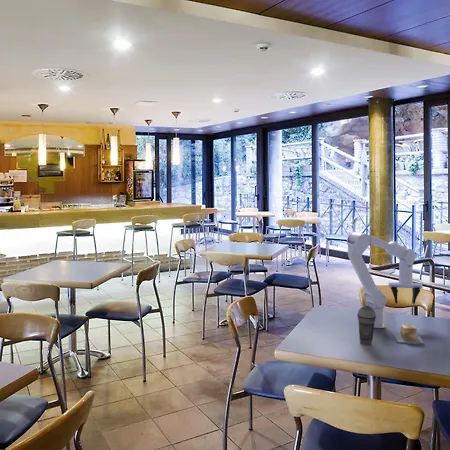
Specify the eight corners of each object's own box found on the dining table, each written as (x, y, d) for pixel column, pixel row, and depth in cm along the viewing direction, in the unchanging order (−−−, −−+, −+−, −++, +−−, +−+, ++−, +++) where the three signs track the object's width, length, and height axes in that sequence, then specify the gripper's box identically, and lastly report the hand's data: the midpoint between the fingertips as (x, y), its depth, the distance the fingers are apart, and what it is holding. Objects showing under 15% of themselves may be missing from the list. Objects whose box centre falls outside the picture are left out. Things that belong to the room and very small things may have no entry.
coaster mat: (398, 343, 190) (398, 341, 190) (393, 335, 199) (393, 333, 199) (424, 344, 188) (424, 343, 188) (418, 336, 198) (418, 335, 198)
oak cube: (403, 339, 192) (403, 328, 191) (400, 336, 197) (401, 324, 196) (416, 340, 191) (416, 328, 191) (413, 336, 196) (413, 324, 195)
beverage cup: (365, 348, 184) (367, 298, 182) (352, 342, 190) (353, 294, 189) (379, 345, 187) (380, 296, 186) (366, 339, 194) (367, 292, 192)
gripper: (390, 275, 212) (389, 304, 213) (424, 276, 210) (423, 306, 211) (387, 272, 219) (387, 300, 220) (420, 273, 217) (419, 302, 218)
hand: (404, 303), depth 216 cm, fingers open, 7 cm apart
